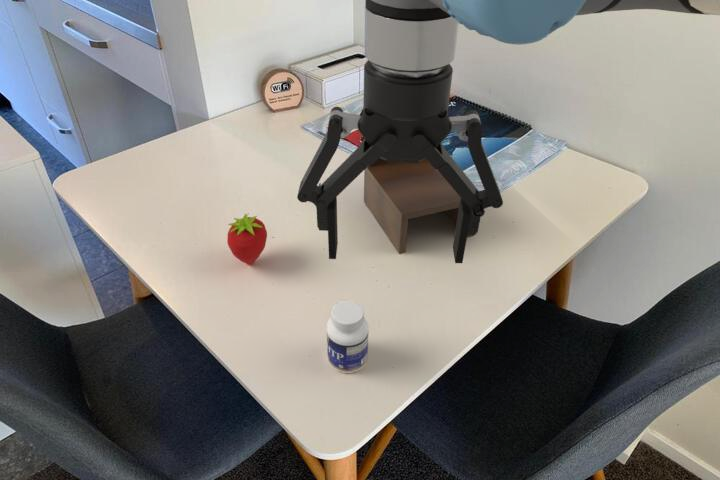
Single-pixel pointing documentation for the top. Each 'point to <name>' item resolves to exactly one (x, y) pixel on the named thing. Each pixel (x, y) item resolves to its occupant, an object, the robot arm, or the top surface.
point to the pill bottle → (347, 337)
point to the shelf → (406, 196)
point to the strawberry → (247, 239)
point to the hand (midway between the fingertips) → (395, 253)
